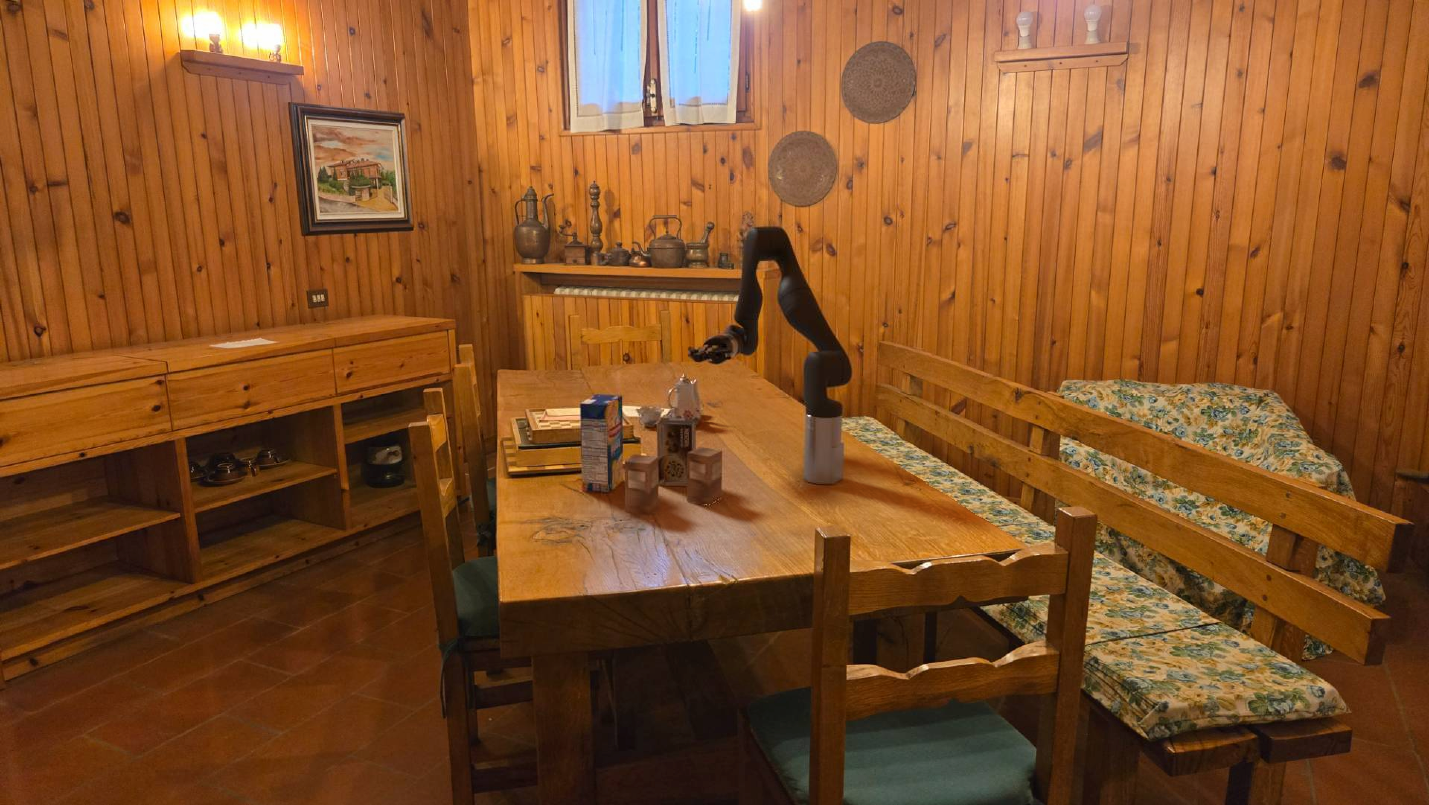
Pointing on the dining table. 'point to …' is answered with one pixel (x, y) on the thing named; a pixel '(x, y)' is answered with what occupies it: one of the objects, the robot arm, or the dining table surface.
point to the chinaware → (676, 404)
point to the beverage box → (601, 443)
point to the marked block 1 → (641, 484)
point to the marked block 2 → (704, 475)
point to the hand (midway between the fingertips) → (697, 358)
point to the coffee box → (674, 449)
